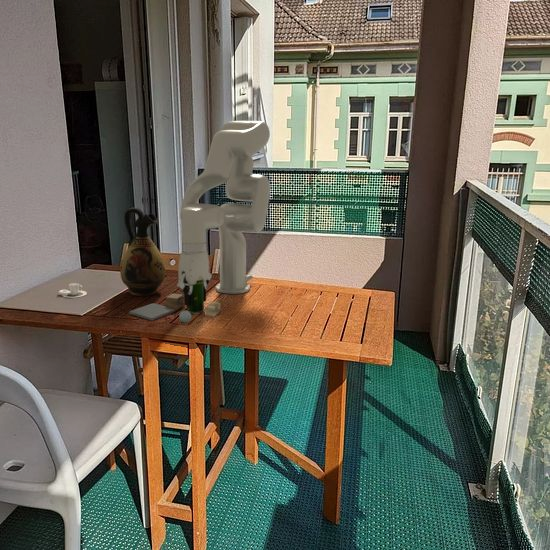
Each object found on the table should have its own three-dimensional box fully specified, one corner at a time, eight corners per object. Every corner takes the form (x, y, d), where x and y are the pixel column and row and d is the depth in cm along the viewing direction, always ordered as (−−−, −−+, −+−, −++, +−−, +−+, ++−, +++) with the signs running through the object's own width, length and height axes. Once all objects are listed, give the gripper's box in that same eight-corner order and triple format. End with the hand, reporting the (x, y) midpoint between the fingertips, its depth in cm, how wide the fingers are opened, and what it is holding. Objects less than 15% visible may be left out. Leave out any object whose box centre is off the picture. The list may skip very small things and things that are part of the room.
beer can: (203, 308, 160) (202, 272, 157) (204, 313, 155) (204, 277, 152) (186, 309, 158) (185, 273, 155) (187, 314, 153) (186, 278, 150)
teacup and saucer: (55, 297, 168) (54, 285, 167) (71, 290, 176) (70, 279, 175) (76, 300, 166) (75, 288, 165) (91, 293, 173) (90, 282, 172)
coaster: (153, 305, 161) (153, 303, 161) (175, 311, 156) (175, 309, 156) (129, 313, 153) (129, 311, 153) (151, 320, 148) (151, 318, 148)
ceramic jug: (173, 288, 180) (170, 207, 172) (152, 300, 166) (148, 212, 158) (132, 283, 184) (128, 204, 176) (108, 295, 170) (102, 209, 162)
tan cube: (172, 304, 162) (172, 293, 161) (183, 306, 161) (183, 294, 160) (166, 308, 159) (166, 297, 158) (177, 310, 158) (177, 298, 157)
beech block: (211, 310, 158) (211, 301, 157) (220, 311, 157) (220, 302, 157) (205, 315, 154) (205, 306, 153) (214, 316, 153) (214, 307, 152)
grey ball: (185, 319, 150) (184, 308, 149) (194, 321, 148) (193, 310, 147) (176, 322, 147) (176, 311, 146) (185, 325, 145) (185, 313, 144)
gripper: (203, 241, 160) (204, 294, 165) (165, 250, 146) (167, 307, 151) (221, 244, 156) (221, 298, 161) (184, 254, 142) (185, 312, 147)
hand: (195, 302), depth 156 cm, fingers closed on beer can, 5 cm apart
